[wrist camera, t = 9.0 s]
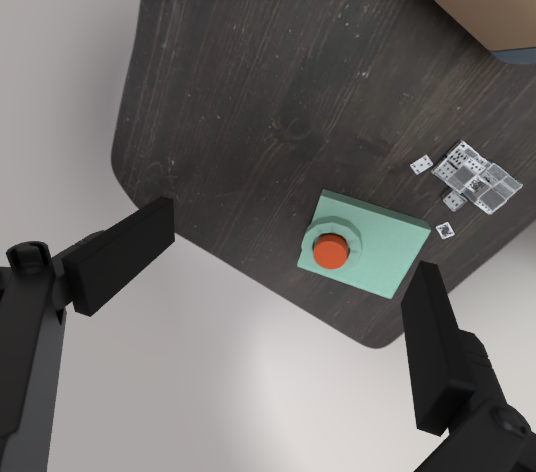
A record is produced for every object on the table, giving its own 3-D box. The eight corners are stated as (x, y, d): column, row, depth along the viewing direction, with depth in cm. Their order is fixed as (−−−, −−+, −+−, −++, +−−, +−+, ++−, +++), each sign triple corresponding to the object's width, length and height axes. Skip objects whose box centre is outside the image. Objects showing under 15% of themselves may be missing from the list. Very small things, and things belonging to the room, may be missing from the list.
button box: (298, 256, 41) (291, 273, 38) (320, 187, 36) (316, 200, 32) (389, 288, 39) (391, 309, 36) (427, 221, 34) (434, 238, 31)
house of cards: (382, 194, 34) (385, 224, 28) (447, 126, 29) (469, 143, 23) (446, 241, 35) (464, 282, 28) (520, 181, 30) (562, 214, 23)
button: (311, 255, 36) (308, 263, 35) (320, 229, 34) (318, 236, 33) (341, 265, 36) (340, 274, 34) (352, 239, 34) (351, 247, 32)
